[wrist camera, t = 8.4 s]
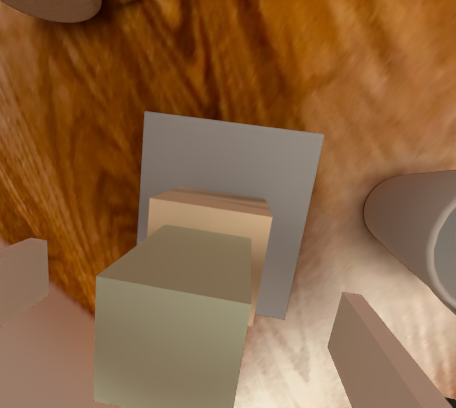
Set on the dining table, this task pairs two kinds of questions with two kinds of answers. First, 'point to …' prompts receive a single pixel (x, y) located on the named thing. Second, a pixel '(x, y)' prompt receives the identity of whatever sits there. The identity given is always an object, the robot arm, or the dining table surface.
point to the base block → (217, 221)
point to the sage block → (173, 321)
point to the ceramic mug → (58, 9)
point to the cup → (419, 227)
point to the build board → (237, 182)
